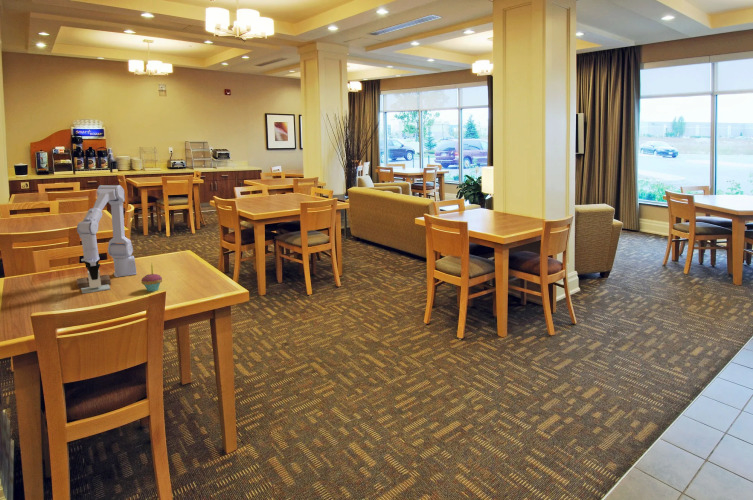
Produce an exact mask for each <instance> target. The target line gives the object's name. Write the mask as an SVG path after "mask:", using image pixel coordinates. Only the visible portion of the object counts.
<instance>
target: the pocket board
mask: <svg viewBox="0 0 753 500" xmlns="http://www.w3.org/2000/svg"><path fill="white" fill-rule="evenodd" d="M100 280H101V285H107V284H109V286H110V285H112V282H111V278H110V275H109V274H102V275H101V274H100ZM76 284H77V287H78V290H81V288H87V287H90V286H89V279H88V276H87V277H80V278H76Z"/></svg>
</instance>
